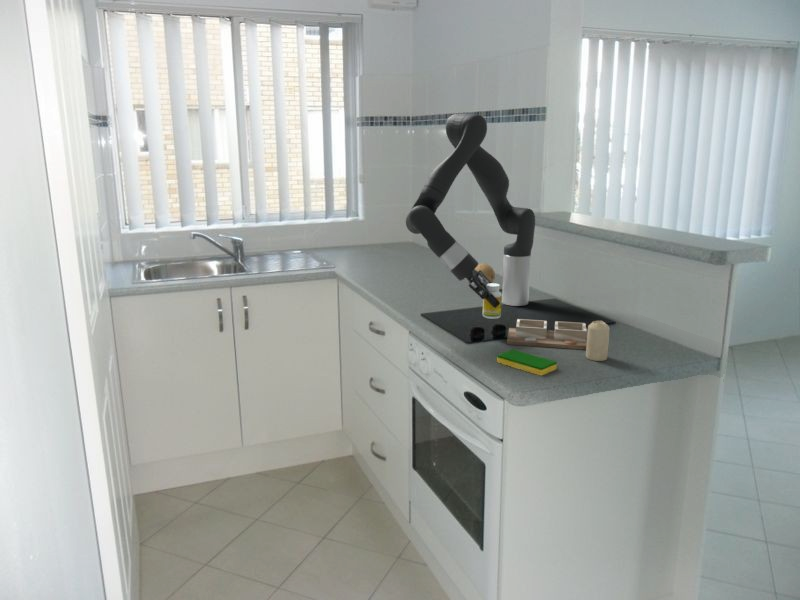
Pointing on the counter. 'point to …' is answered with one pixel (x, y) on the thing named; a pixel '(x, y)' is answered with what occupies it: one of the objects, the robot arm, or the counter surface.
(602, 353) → the candle
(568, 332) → the socket board
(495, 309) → the supplement bottle
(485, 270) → the potato
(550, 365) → the dish sponge
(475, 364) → the counter surface
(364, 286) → the counter surface
